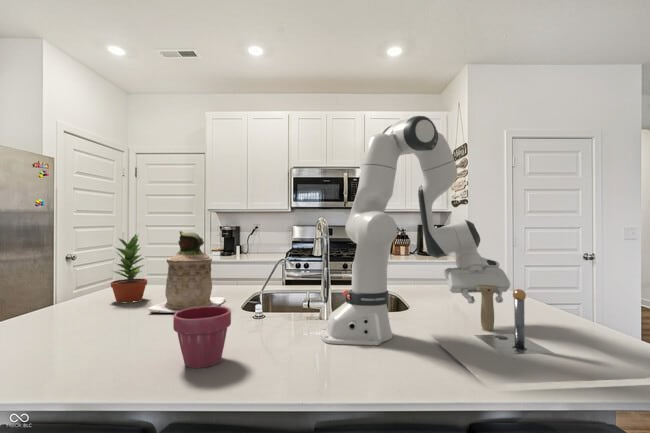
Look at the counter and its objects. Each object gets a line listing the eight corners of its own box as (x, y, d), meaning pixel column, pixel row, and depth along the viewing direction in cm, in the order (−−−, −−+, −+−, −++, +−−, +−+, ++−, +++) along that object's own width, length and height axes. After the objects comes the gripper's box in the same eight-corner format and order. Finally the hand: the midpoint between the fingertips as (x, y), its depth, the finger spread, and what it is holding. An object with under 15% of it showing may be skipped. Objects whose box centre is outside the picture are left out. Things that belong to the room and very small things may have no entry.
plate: (503, 359, 96) (503, 354, 96) (473, 339, 112) (473, 334, 112) (554, 357, 97) (554, 352, 97) (517, 337, 113) (517, 333, 113)
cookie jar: (208, 314, 141) (208, 231, 141) (145, 314, 141) (145, 231, 142) (226, 300, 166) (226, 229, 166) (172, 300, 166) (172, 229, 166)
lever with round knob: (517, 350, 99) (517, 290, 99) (510, 346, 102) (510, 288, 102) (528, 350, 99) (528, 290, 99) (521, 346, 102) (521, 288, 102)
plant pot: (187, 351, 102) (187, 305, 102) (237, 351, 102) (237, 305, 102) (163, 372, 88) (163, 319, 88) (221, 373, 88) (221, 319, 88)
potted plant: (101, 304, 159) (101, 234, 159) (126, 296, 174) (126, 233, 174) (132, 305, 156) (132, 235, 156) (154, 297, 171) (154, 233, 171)
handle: (500, 336, 114) (500, 288, 114) (478, 335, 116) (478, 287, 116) (496, 331, 119) (496, 285, 119) (475, 330, 120) (475, 284, 120)
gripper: (445, 262, 125) (457, 297, 115) (502, 261, 127) (520, 295, 117) (440, 273, 130) (452, 308, 120) (495, 272, 131) (512, 306, 121)
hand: (486, 302), depth 118 cm, fingers open, 8 cm apart
